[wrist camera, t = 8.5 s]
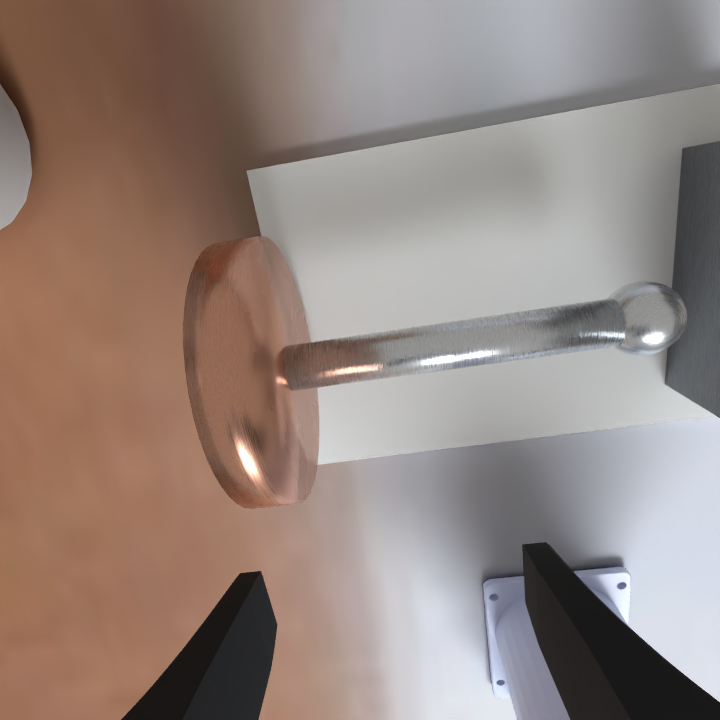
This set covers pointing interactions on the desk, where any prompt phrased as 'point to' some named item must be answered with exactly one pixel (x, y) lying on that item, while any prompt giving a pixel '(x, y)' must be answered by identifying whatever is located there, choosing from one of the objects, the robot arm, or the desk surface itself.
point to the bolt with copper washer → (352, 359)
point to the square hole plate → (698, 279)
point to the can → (12, 161)
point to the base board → (489, 265)
